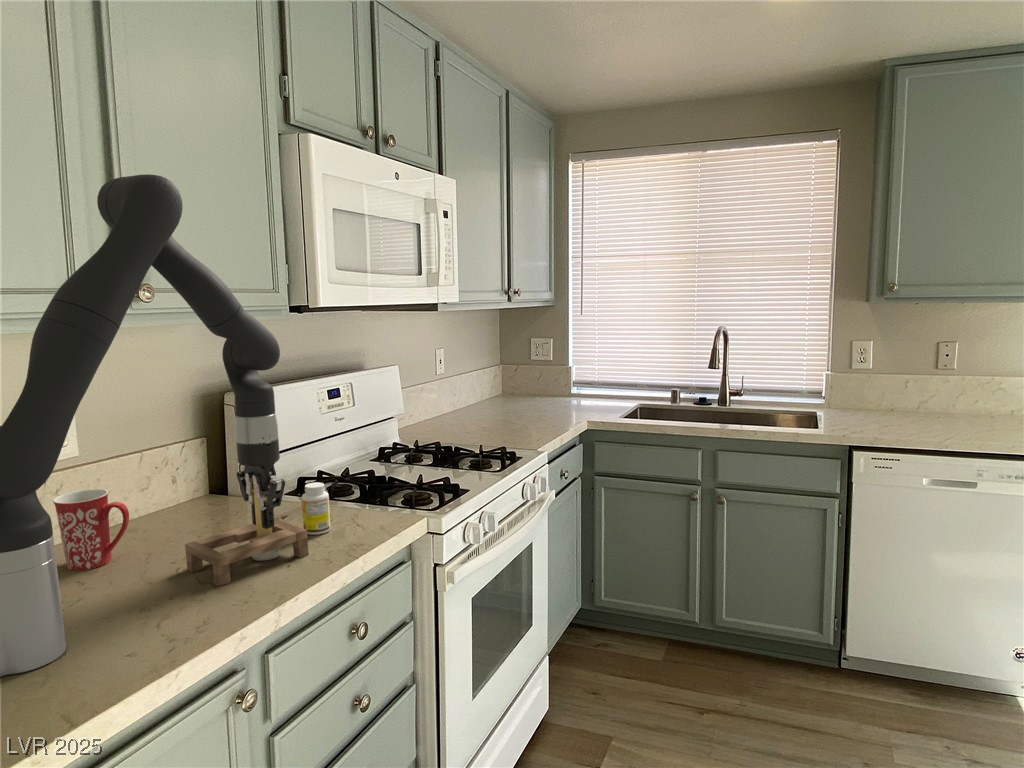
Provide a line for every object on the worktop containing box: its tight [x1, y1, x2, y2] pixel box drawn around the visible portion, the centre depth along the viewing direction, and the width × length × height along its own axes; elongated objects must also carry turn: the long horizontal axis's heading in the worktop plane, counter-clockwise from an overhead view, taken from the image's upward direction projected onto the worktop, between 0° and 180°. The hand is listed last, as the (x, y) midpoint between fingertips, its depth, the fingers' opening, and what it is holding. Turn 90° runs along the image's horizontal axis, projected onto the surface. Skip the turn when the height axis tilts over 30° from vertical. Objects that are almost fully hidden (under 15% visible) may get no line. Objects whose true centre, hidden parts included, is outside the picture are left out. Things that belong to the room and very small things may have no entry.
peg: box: [251, 483, 281, 562], centre depth 133 cm, size 5×5×15 cm
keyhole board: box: [184, 518, 309, 587], centre depth 131 cm, size 18×12×5 cm, turn 140°
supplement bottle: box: [301, 481, 331, 536], centre depth 147 cm, size 6×6×10 cm
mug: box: [52, 488, 130, 571], centre depth 132 cm, size 13×9×14 cm
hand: (263, 525), depth 133 cm, fingers closed on peg, 2 cm apart
